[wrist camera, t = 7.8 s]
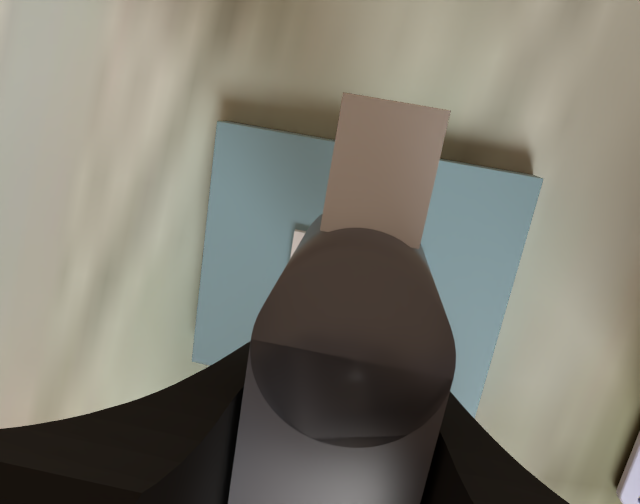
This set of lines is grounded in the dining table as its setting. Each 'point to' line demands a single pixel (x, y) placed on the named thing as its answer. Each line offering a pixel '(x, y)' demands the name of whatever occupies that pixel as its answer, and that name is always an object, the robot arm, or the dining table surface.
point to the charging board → (307, 205)
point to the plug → (353, 330)
